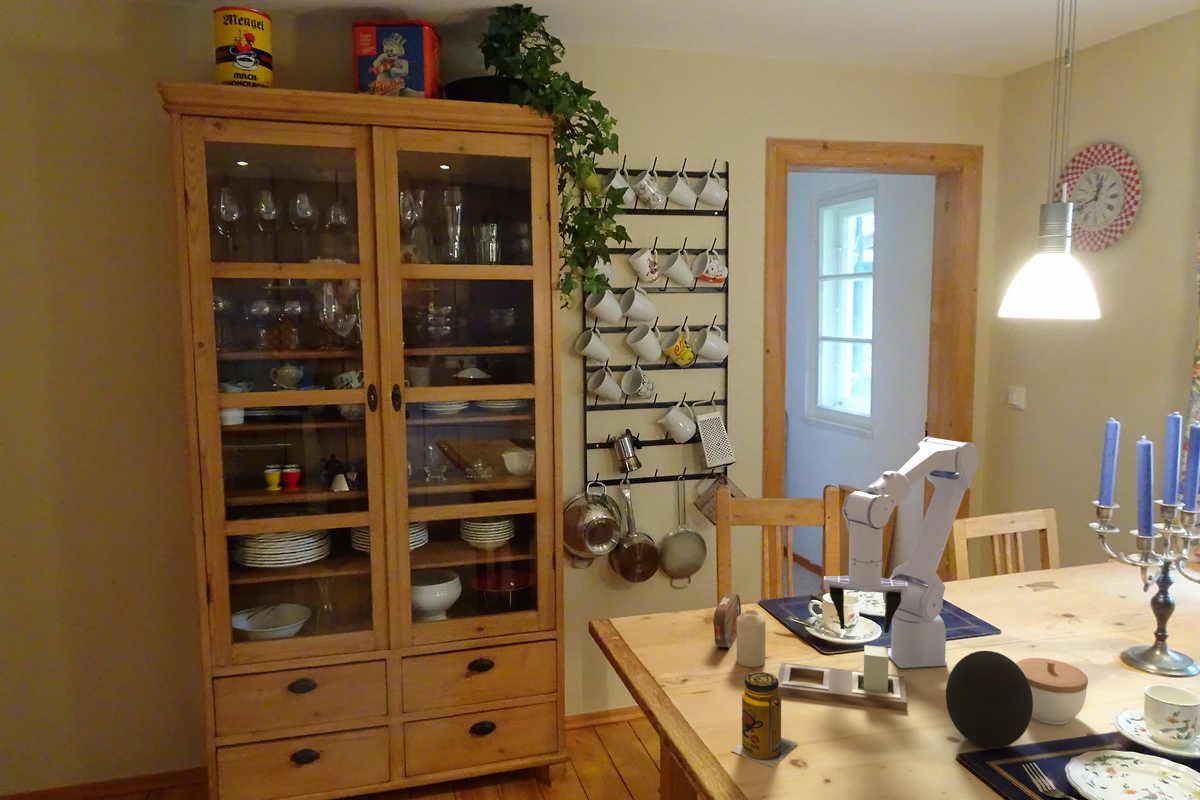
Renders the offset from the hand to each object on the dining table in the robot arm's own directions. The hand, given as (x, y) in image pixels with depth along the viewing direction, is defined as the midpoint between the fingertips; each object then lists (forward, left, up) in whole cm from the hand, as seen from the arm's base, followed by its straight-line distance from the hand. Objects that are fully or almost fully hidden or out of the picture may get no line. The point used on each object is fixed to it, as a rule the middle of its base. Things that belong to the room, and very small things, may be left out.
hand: (864, 628), depth 148 cm
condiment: (+25, +20, -10) cm, 33 cm away
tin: (+21, -21, -10) cm, 31 cm away
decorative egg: (-10, +23, -10) cm, 27 cm away
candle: (+19, -10, -10) cm, 23 cm away
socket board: (+6, +3, -10) cm, 12 cm away
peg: (0, +5, -10) cm, 11 cm away
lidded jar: (-25, +16, -10) cm, 32 cm away
